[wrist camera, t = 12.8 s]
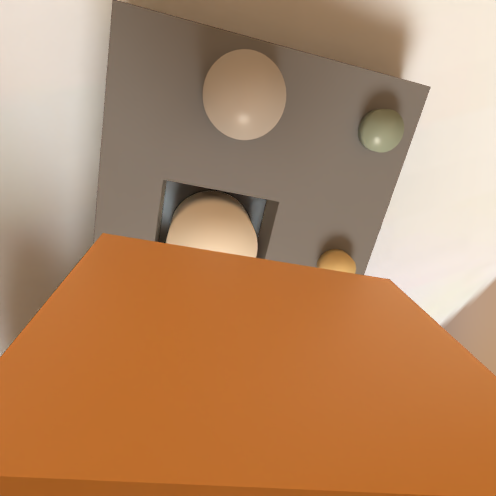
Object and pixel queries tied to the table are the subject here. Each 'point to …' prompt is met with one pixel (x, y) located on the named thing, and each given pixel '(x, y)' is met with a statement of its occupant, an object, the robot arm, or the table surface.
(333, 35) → the table surface
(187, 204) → the button
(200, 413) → the orange block
